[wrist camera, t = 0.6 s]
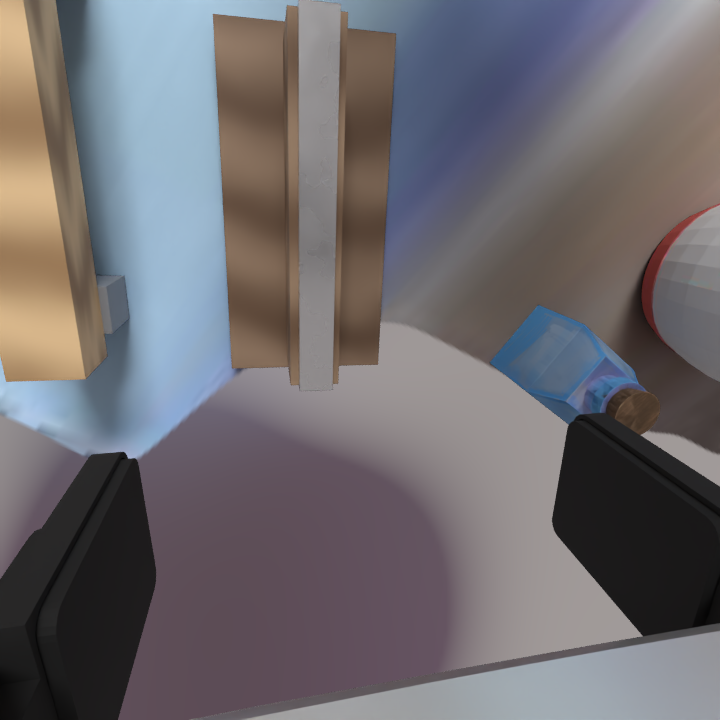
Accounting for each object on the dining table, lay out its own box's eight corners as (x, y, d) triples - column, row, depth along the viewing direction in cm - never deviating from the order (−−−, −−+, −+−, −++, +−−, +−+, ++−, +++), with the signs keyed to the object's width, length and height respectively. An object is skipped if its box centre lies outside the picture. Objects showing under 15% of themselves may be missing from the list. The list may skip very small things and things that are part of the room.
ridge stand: (215, 22, 29) (196, -40, 21) (390, 40, 31) (432, -11, 23) (233, 361, 36) (224, 409, 28) (373, 358, 38) (401, 401, 30)
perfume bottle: (536, 399, 43) (631, 473, 32) (489, 362, 40) (574, 428, 29) (583, 345, 42) (698, 402, 31) (538, 304, 39) (644, 350, 28)
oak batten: (-70, -194, 21) (-142, -276, 17) (29, -178, 22) (-19, -252, 18) (38, 357, 30) (6, 381, 26) (107, 356, 30) (85, 379, 27)
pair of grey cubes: (-25, -102, 25) (-75, -152, 22) (78, -88, 26) (47, -134, 22) (52, 318, 33) (24, 334, 29) (129, 317, 34) (112, 333, 30)
